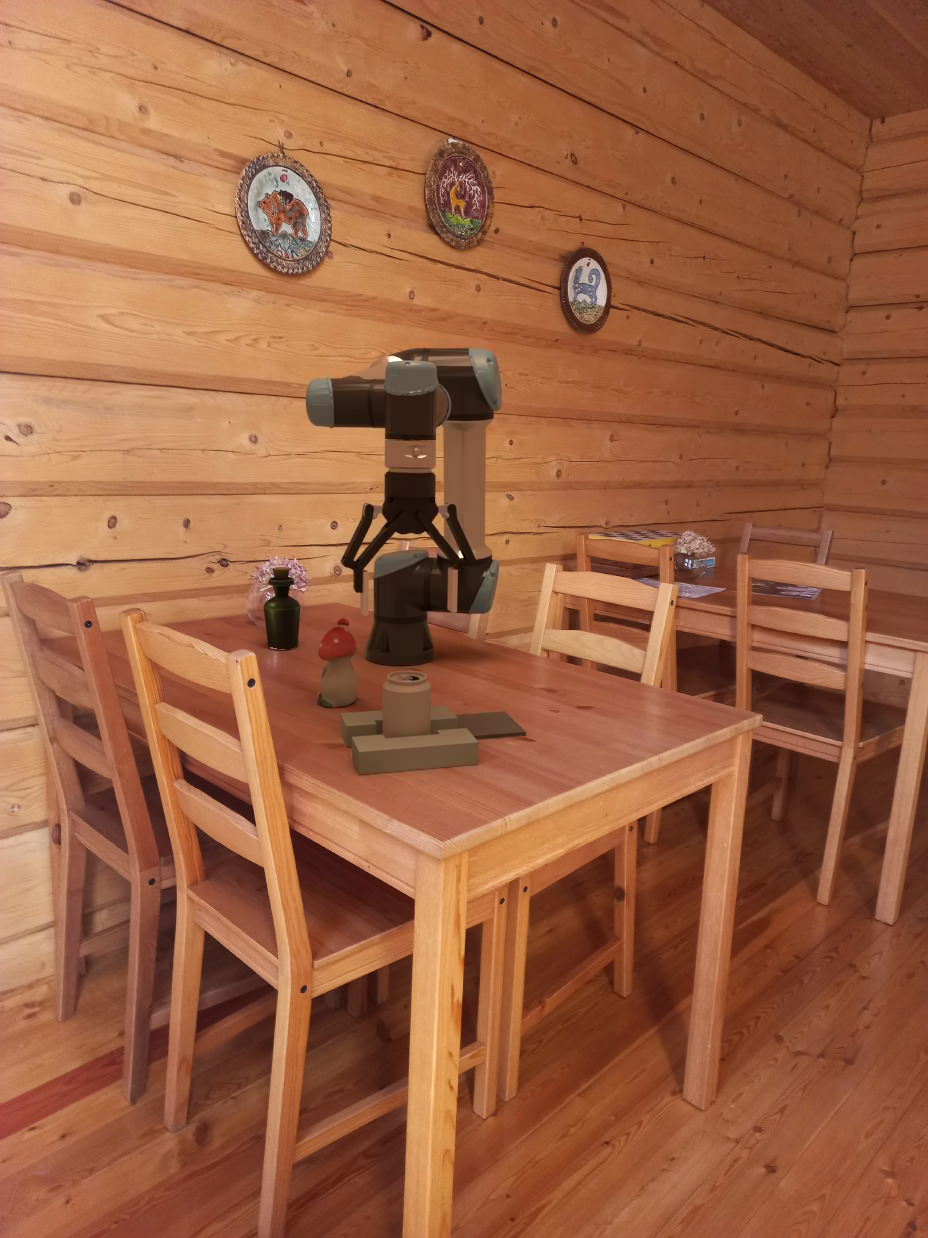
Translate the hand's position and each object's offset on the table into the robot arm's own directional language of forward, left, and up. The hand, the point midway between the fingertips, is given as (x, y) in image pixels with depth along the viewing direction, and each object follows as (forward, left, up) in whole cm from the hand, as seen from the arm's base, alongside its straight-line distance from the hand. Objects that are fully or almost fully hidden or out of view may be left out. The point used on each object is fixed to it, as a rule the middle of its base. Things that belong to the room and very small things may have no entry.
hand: (408, 612), depth 134 cm
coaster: (-7, +15, -22) cm, 27 cm away
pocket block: (0, 0, -22) cm, 22 cm away
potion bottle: (-69, -13, -22) cm, 74 cm away
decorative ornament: (-26, -7, -22) cm, 35 cm away
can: (0, 0, -22) cm, 22 cm away
